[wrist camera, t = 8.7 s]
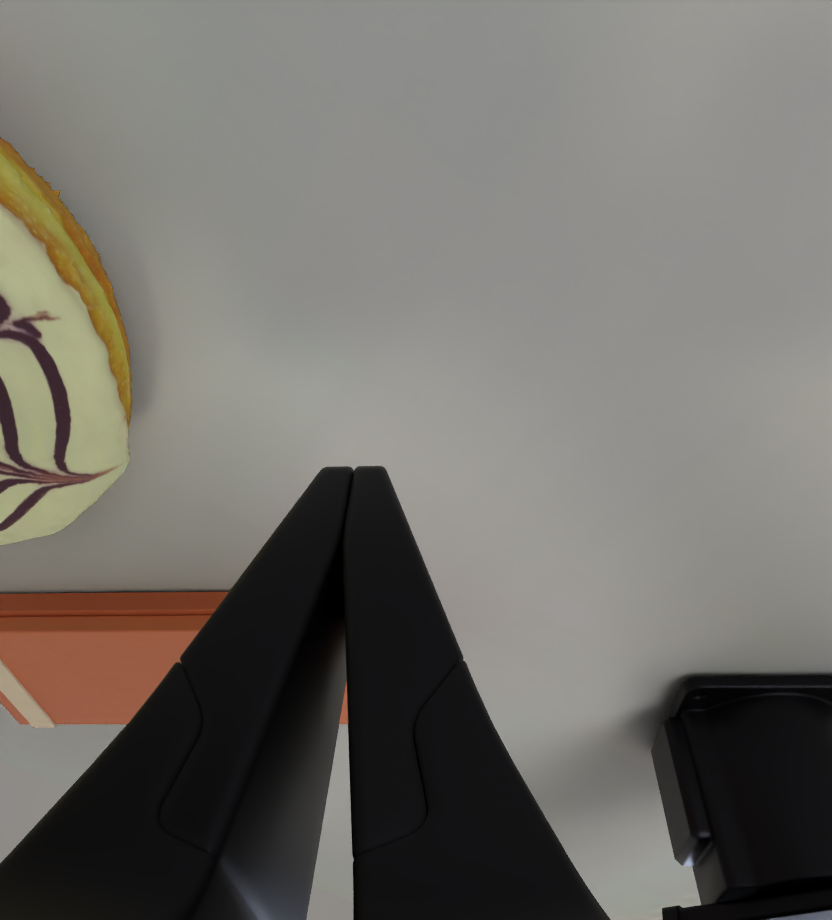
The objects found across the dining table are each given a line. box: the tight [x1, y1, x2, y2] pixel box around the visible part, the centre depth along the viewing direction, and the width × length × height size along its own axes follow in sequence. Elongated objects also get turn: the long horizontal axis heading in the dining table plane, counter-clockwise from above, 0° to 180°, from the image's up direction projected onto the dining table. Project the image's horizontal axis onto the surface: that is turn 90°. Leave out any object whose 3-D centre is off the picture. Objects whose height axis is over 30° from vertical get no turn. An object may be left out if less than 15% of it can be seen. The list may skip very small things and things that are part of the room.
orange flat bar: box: [0, 592, 348, 728], centre depth 24 cm, size 14×6×1 cm, turn 92°
